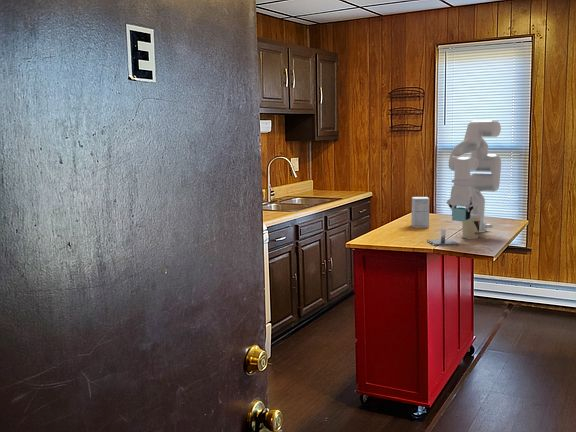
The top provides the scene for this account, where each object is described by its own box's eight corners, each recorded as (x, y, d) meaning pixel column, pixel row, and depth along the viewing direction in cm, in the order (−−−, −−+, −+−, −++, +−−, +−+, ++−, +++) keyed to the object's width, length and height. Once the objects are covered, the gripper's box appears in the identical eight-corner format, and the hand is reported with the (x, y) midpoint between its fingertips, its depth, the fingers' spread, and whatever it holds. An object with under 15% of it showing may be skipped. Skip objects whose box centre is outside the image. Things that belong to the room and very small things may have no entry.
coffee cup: (477, 239, 306) (478, 216, 305) (458, 237, 311) (459, 214, 310) (482, 236, 314) (483, 214, 312) (464, 235, 319) (464, 212, 317)
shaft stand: (450, 241, 302) (451, 227, 301) (459, 245, 290) (459, 231, 289) (427, 241, 301) (427, 227, 300) (434, 245, 289) (435, 231, 288)
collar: (457, 218, 307) (458, 206, 306) (469, 219, 303) (470, 207, 302) (452, 220, 302) (452, 208, 301) (464, 221, 298) (464, 209, 297)
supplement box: (427, 225, 354) (428, 196, 352) (429, 227, 345) (430, 198, 343) (410, 225, 355) (411, 196, 353) (412, 227, 346) (413, 198, 344)
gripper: (442, 182, 302) (441, 217, 305) (475, 184, 291) (474, 221, 294) (449, 181, 308) (448, 215, 311) (482, 183, 297) (480, 219, 300)
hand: (461, 218), depth 302 cm, fingers closed on collar, 6 cm apart
